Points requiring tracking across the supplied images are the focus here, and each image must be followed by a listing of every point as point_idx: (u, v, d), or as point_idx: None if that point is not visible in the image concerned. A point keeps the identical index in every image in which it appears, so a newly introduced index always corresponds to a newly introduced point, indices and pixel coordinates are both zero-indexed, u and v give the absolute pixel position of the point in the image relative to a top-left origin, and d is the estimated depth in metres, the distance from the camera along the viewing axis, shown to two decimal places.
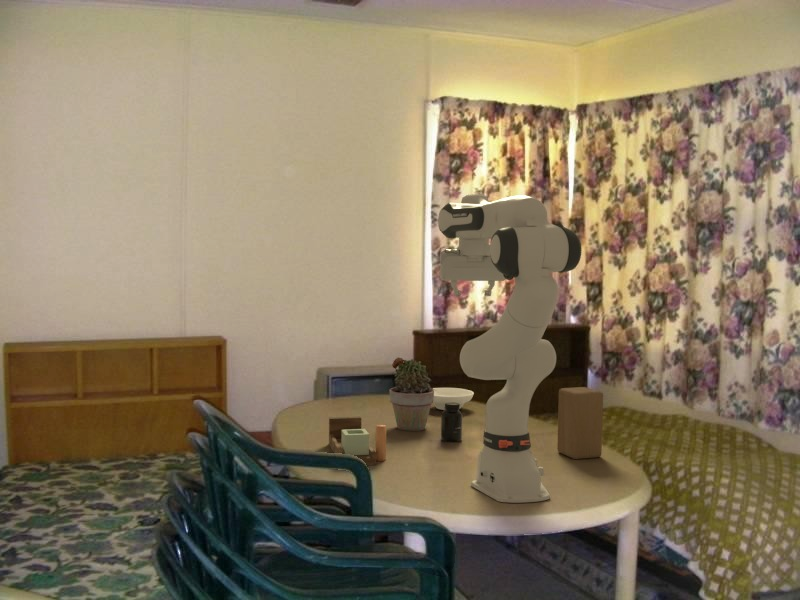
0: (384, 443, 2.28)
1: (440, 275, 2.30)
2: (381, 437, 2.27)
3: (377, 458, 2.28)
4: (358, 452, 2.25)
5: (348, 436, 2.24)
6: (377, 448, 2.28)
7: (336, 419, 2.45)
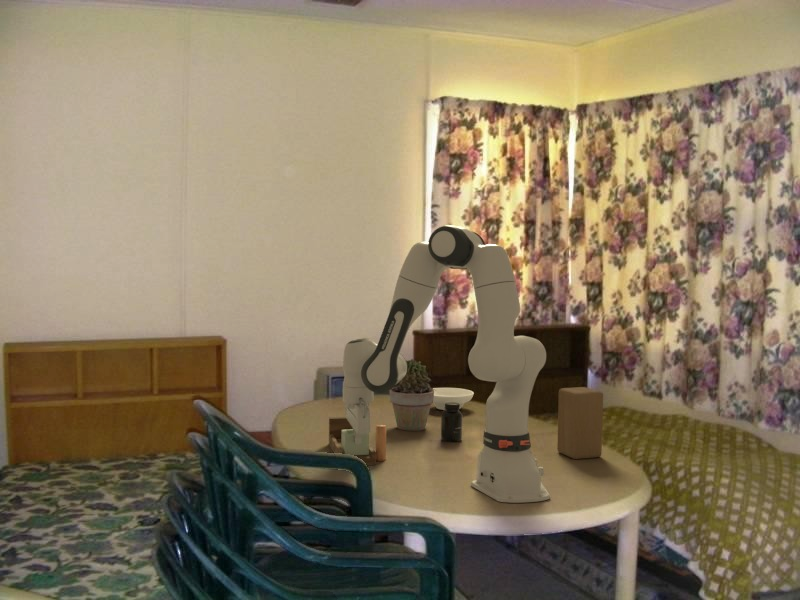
0: (384, 443, 2.28)
1: (364, 429, 2.13)
2: (381, 437, 2.27)
3: (377, 458, 2.28)
4: (358, 452, 2.25)
5: (348, 436, 2.24)
6: (377, 448, 2.28)
7: (336, 419, 2.45)
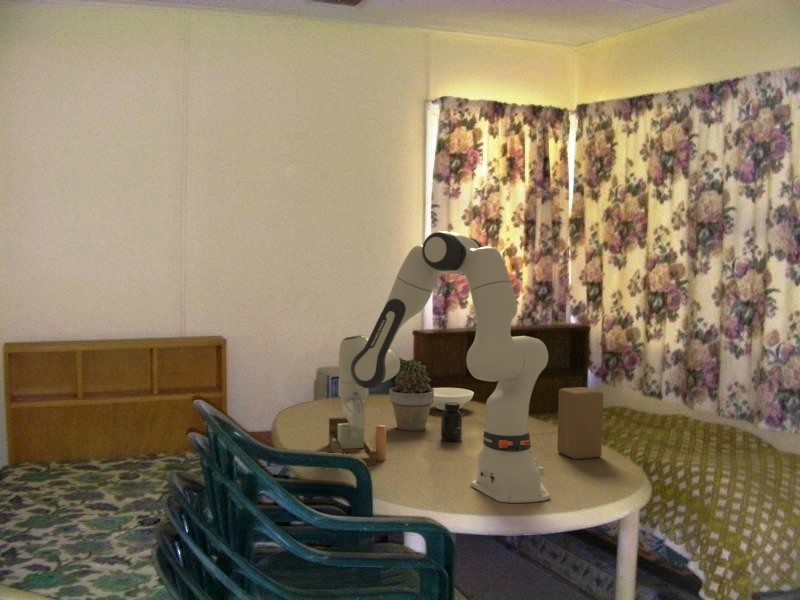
0: (384, 443, 2.28)
1: (359, 423, 2.21)
2: (381, 437, 2.27)
3: (377, 458, 2.28)
4: (354, 445, 2.33)
5: (344, 430, 2.32)
6: (377, 448, 2.28)
7: (336, 419, 2.45)
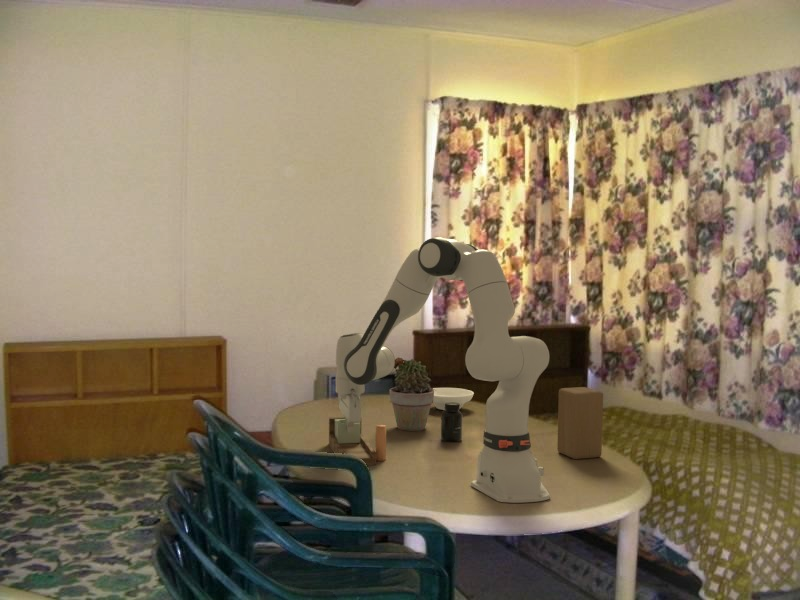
0: (384, 443, 2.28)
1: (355, 418, 2.27)
2: (381, 437, 2.27)
3: (377, 458, 2.28)
4: (350, 440, 2.39)
5: (341, 425, 2.38)
6: (377, 448, 2.28)
7: None
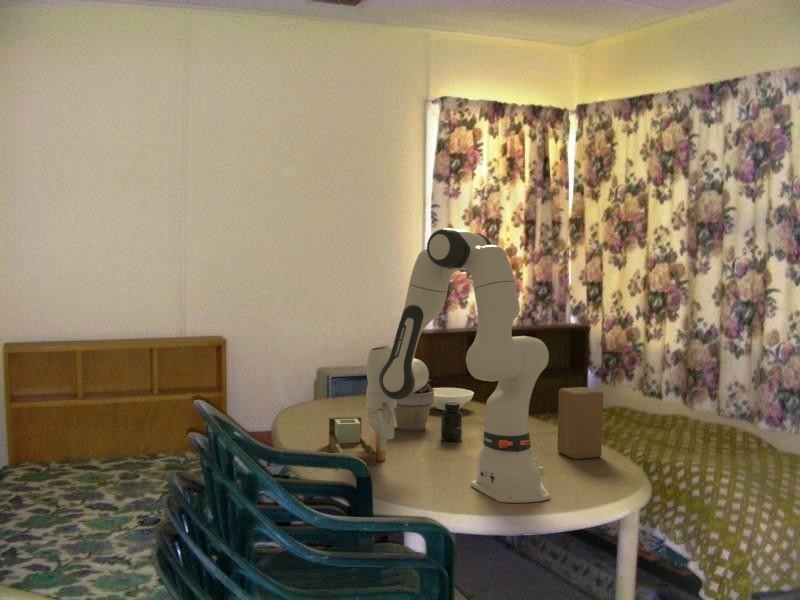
0: None
1: (388, 434, 2.19)
2: None
3: (377, 458, 2.28)
4: (350, 440, 2.39)
5: (341, 425, 2.38)
6: (377, 448, 2.28)
7: None
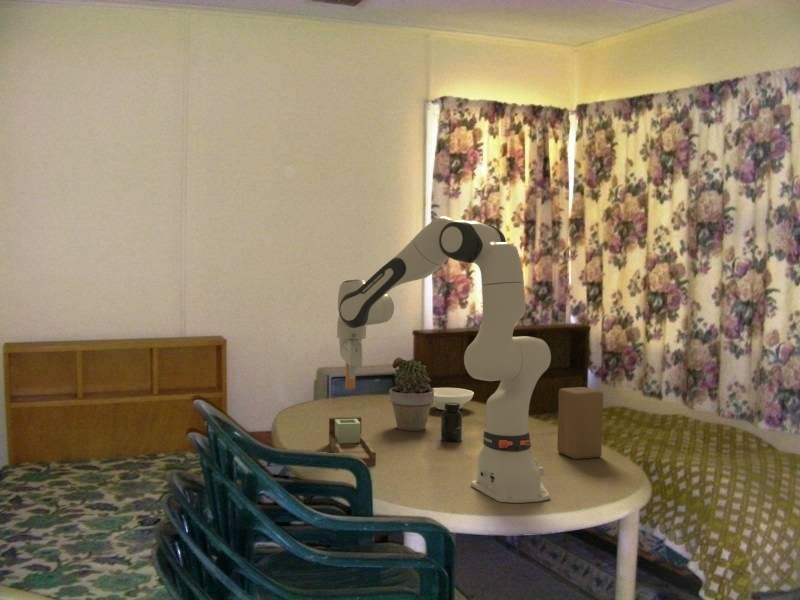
0: None
1: (356, 362, 2.30)
2: None
3: (346, 387, 2.39)
4: (350, 440, 2.39)
5: (341, 425, 2.38)
6: (347, 377, 2.39)
7: None
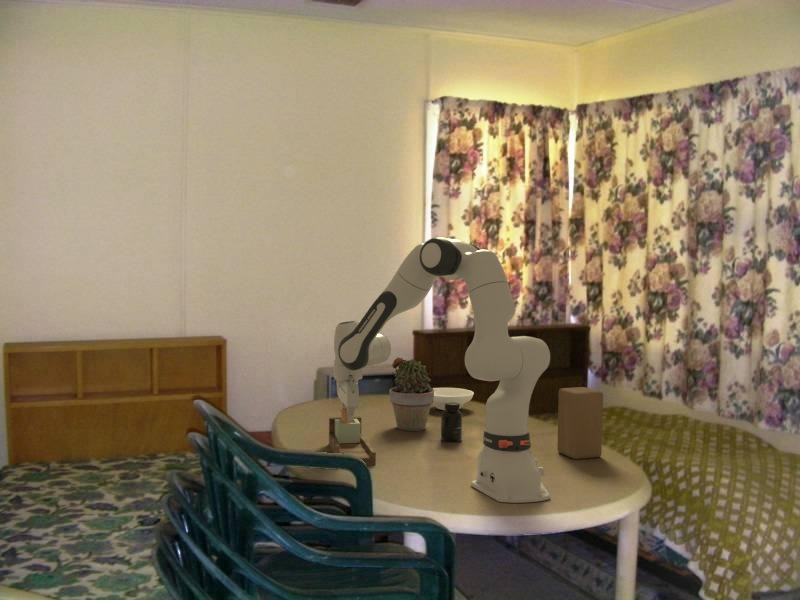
0: None
1: (353, 403, 2.31)
2: (346, 420, 2.40)
3: None
4: (350, 440, 2.39)
5: (341, 425, 2.38)
6: None
7: None
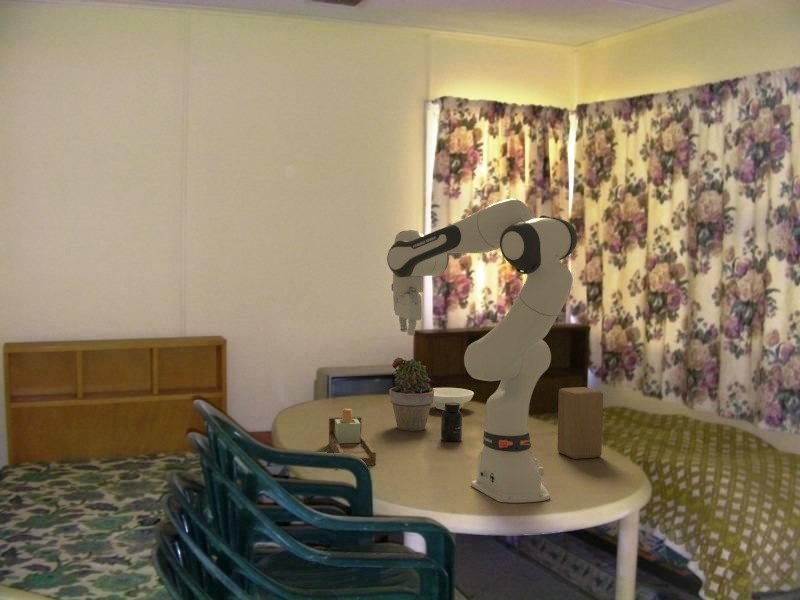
0: None
1: (415, 315, 2.18)
2: (347, 420, 2.40)
3: None
4: (350, 440, 2.39)
5: (341, 425, 2.38)
6: None
7: None
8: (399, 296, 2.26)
